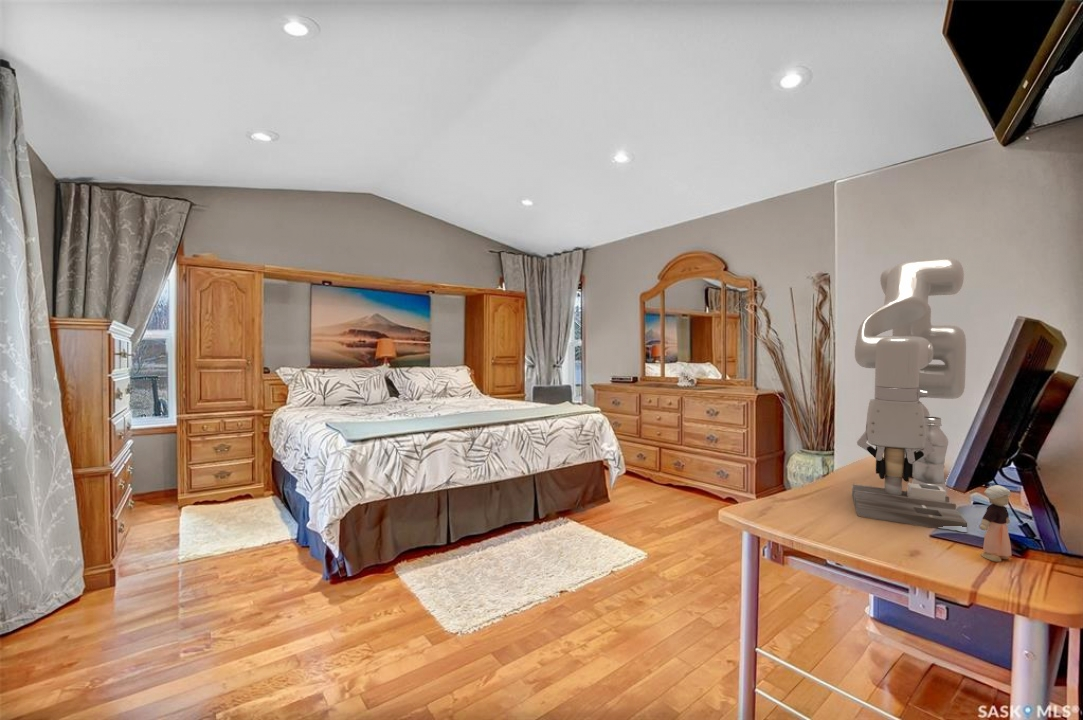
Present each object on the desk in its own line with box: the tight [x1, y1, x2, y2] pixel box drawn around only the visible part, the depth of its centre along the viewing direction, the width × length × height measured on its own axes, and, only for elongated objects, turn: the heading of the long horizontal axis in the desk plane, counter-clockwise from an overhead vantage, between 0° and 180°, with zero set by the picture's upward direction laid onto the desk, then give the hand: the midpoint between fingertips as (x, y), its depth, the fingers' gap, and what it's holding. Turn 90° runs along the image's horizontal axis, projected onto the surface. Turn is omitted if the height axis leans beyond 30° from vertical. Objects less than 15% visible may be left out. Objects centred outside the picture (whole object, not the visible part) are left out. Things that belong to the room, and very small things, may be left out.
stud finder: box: [906, 482, 947, 502], centre depth 106 cm, size 4×6×3 cm, turn 60°
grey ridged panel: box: [851, 483, 968, 529], centre depth 105 cm, size 16×18×3 cm
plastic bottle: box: [911, 416, 949, 496], centre depth 112 cm, size 6×7×20 cm
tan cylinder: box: [883, 447, 905, 495], centre depth 103 cm, size 4×4×10 cm
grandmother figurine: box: [979, 484, 1013, 563], centre depth 83 cm, size 8×4×13 cm, turn 123°
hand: (893, 477), depth 103 cm, fingers closed on tan cylinder, 3 cm apart
